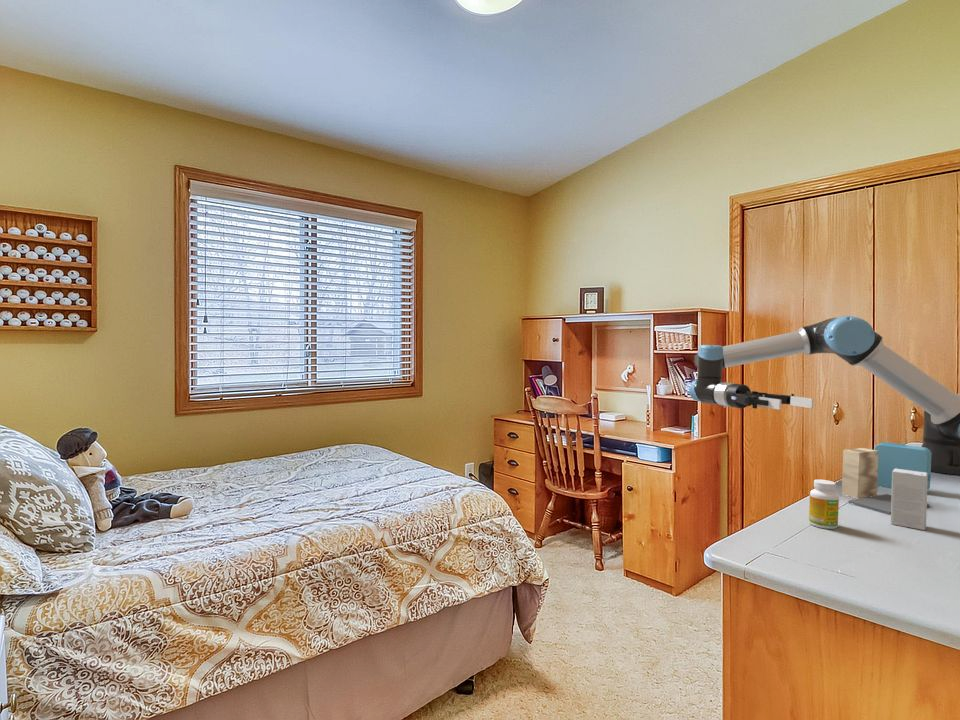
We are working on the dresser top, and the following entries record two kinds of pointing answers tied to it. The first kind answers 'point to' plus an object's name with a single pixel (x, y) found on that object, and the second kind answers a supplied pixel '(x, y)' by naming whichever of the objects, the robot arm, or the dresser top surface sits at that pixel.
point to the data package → (901, 461)
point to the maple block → (860, 472)
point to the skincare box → (909, 498)
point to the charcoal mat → (876, 503)
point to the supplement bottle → (824, 505)
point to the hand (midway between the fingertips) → (796, 404)
